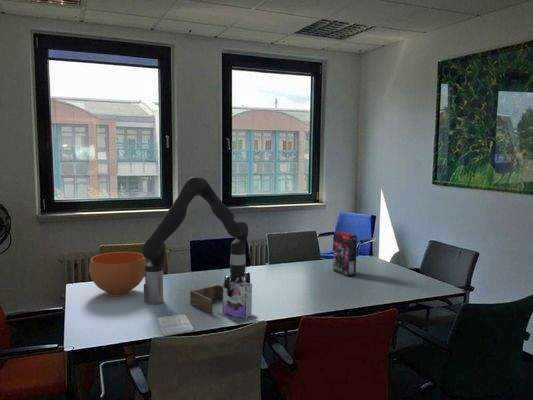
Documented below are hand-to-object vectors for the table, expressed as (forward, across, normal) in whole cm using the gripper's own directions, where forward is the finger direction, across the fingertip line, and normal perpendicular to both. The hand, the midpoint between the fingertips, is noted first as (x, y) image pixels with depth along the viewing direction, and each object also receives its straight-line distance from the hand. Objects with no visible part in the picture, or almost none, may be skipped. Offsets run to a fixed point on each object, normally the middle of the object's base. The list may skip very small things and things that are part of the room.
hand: (237, 295), depth 219 cm
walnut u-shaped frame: (+10, 0, +19) cm, 22 cm away
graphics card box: (+10, +103, +17) cm, 105 cm away
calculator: (+11, -30, +8) cm, 33 cm away
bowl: (+11, -31, +69) cm, 76 cm away
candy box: (+10, 0, 0) cm, 10 cm away
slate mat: (+10, 0, 0) cm, 10 cm away
